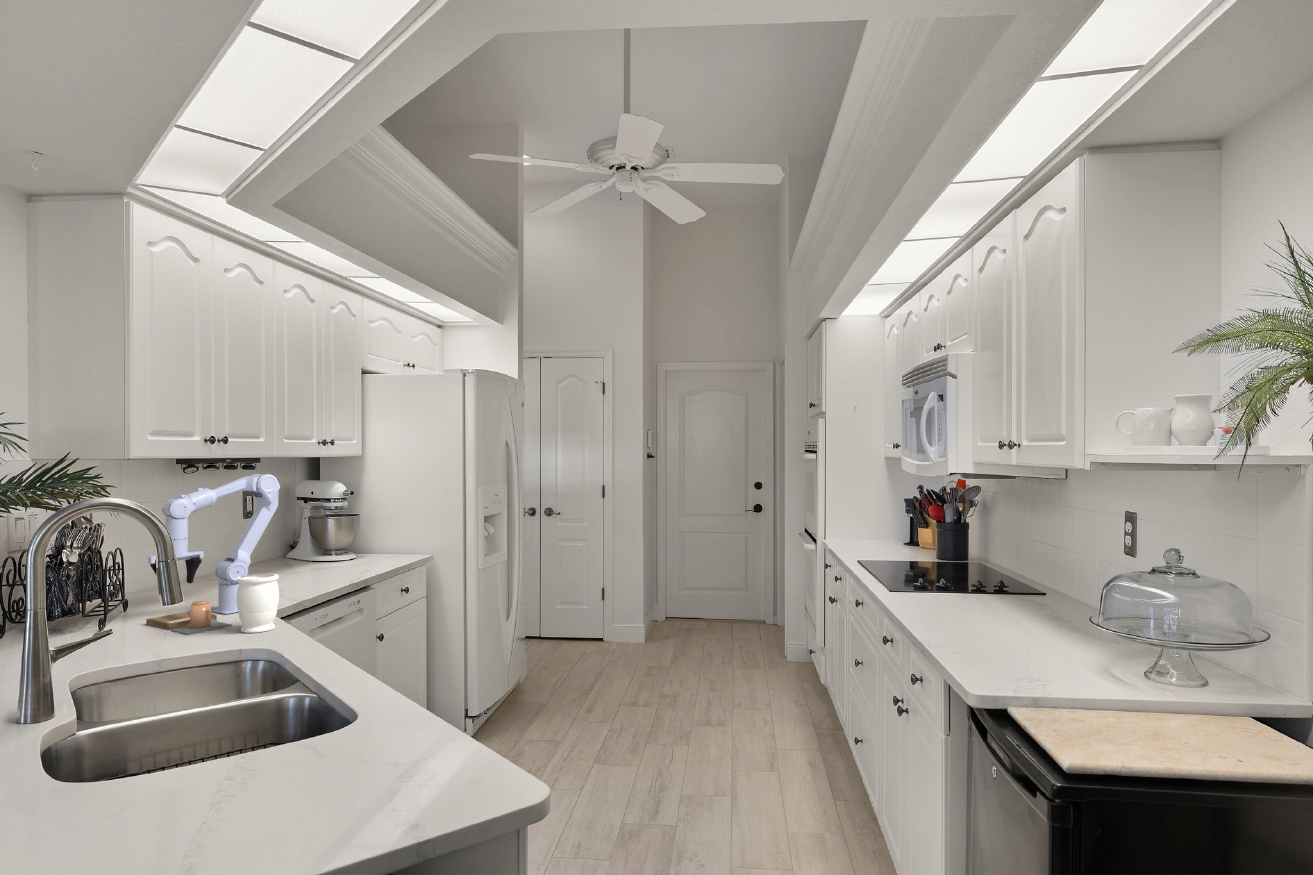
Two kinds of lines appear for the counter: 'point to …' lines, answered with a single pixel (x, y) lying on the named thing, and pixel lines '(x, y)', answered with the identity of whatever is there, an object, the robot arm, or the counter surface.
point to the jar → (257, 602)
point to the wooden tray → (163, 623)
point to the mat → (213, 626)
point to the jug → (200, 615)
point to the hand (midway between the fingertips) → (176, 584)
